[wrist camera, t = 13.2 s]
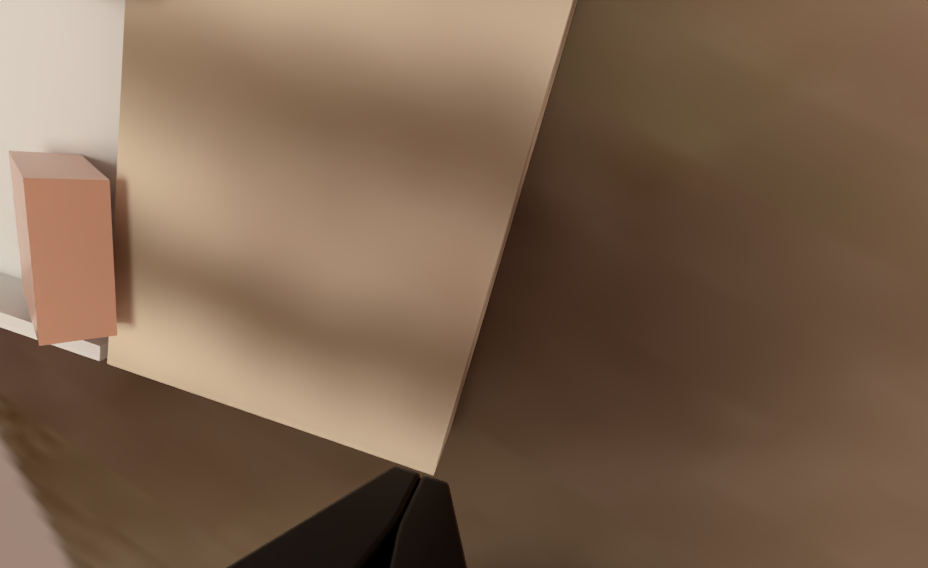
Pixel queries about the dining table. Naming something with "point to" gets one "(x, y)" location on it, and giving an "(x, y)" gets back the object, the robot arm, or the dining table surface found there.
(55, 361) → the dining table surface
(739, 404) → the dining table surface
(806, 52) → the dining table surface
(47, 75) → the tray
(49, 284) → the tile
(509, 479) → the dining table surface
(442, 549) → the robot arm
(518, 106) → the large cream board
